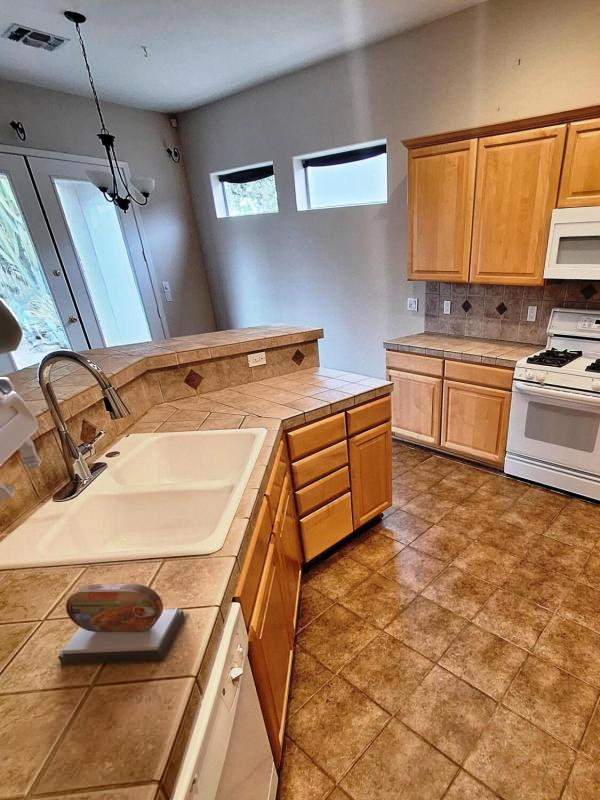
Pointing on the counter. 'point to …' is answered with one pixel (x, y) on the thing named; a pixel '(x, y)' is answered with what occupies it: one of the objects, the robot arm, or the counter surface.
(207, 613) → the counter surface
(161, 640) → the scale
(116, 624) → the tin
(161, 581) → the counter surface
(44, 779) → the counter surface
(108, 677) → the counter surface
